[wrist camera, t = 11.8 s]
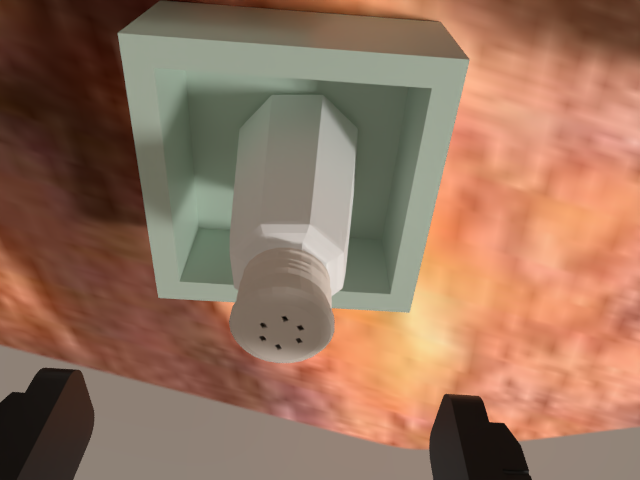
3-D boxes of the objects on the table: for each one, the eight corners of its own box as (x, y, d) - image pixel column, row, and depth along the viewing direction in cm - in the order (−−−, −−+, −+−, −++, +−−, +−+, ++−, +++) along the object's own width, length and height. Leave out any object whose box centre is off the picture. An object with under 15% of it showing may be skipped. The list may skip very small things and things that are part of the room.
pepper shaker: (333, 67, 20) (339, 221, 11) (378, 178, 23) (411, 371, 14) (214, 117, 22) (134, 291, 13) (270, 217, 24) (239, 415, 15)
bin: (160, 0, 20) (117, 33, 16) (440, 22, 20) (469, 59, 16) (184, 232, 26) (158, 297, 22) (396, 245, 27) (409, 312, 23)
